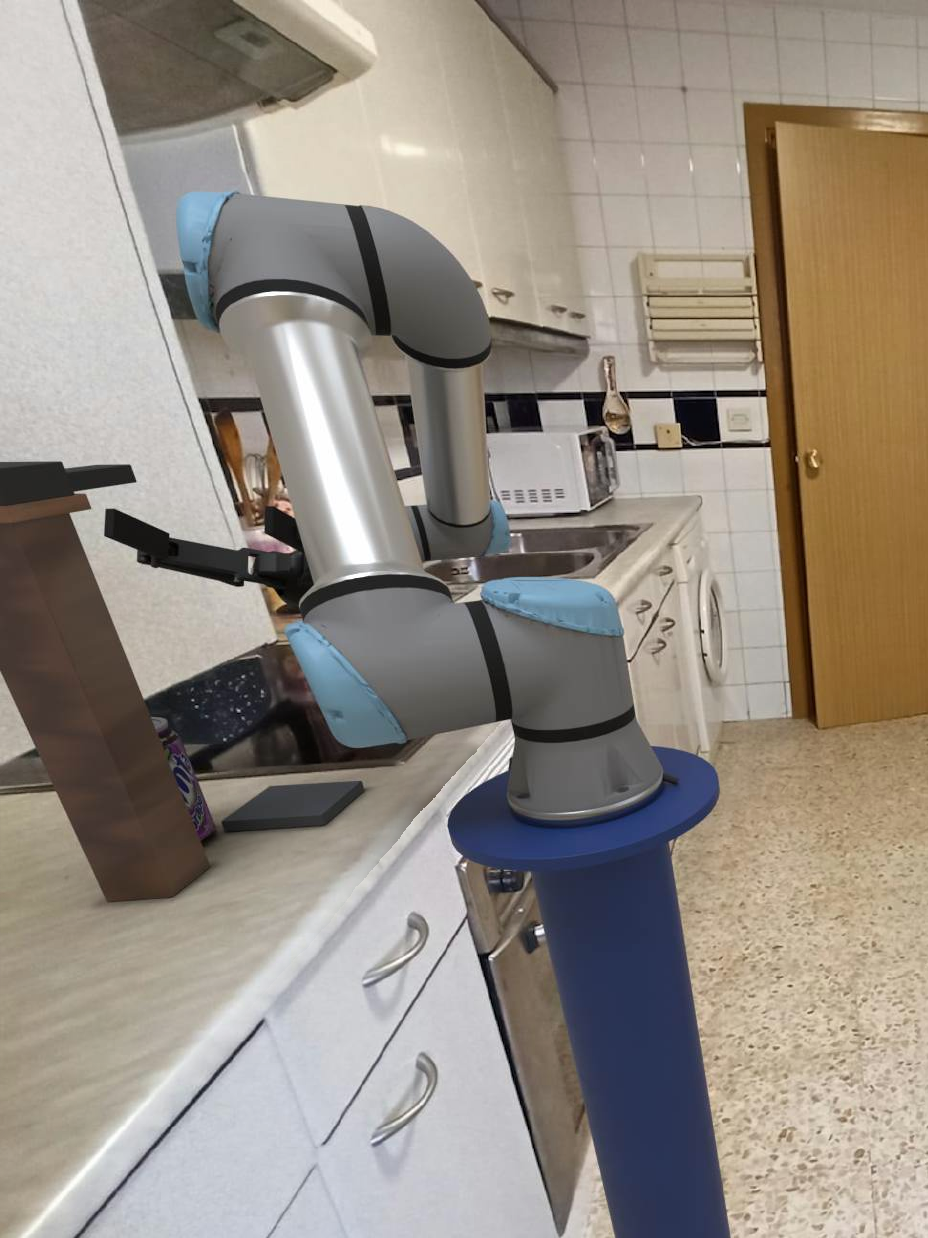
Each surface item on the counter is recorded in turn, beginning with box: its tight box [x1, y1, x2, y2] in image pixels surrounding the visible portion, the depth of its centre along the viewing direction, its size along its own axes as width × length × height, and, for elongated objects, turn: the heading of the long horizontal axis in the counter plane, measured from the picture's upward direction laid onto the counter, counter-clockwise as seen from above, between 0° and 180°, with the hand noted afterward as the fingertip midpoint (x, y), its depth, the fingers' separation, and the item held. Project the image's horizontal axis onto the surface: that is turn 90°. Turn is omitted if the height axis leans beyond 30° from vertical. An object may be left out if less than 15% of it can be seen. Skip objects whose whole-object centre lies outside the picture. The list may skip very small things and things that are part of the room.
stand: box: [0, 493, 212, 903], centre depth 69 cm, size 6×7×33 cm
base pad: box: [220, 780, 365, 833], centre depth 88 cm, size 9×8×1 cm
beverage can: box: [151, 716, 216, 842], centre depth 79 cm, size 7×7×12 cm
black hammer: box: [0, 460, 138, 506], centre depth 66 cm, size 6×15×2 cm, turn 9°
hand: (189, 520), depth 81 cm, fingers open, 13 cm apart
